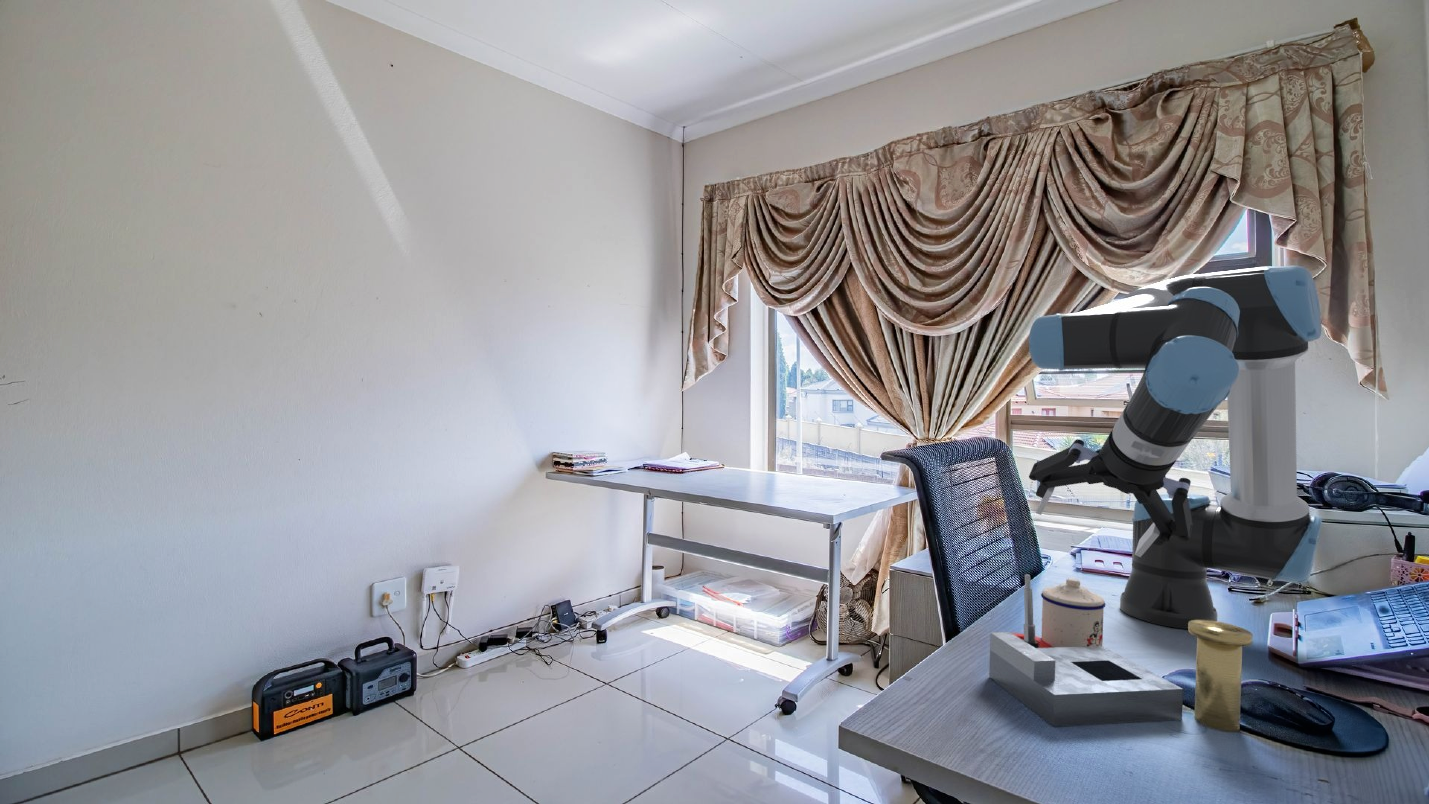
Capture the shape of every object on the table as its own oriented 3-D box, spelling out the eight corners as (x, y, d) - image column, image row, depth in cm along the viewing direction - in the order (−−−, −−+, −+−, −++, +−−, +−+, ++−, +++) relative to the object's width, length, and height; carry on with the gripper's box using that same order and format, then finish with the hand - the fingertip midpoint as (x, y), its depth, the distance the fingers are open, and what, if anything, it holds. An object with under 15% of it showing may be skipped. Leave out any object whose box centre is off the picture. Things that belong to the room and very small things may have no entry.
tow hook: (987, 639, 109) (1003, 659, 99) (985, 562, 109) (1000, 575, 100) (1040, 640, 107) (1061, 661, 98) (1037, 563, 108) (1058, 576, 99)
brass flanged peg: (1215, 708, 85) (1218, 619, 85) (1263, 734, 78) (1266, 637, 78) (1172, 711, 84) (1175, 620, 84) (1217, 737, 78) (1221, 639, 77)
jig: (1100, 672, 95) (1102, 629, 95) (1182, 720, 82) (1183, 669, 81) (989, 677, 93) (990, 632, 93) (1053, 726, 79) (1055, 674, 79)
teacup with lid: (1100, 668, 97) (1103, 591, 97) (1034, 652, 102) (1037, 580, 102) (1108, 644, 107) (1110, 574, 107) (1047, 631, 112) (1049, 565, 112)
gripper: (1029, 425, 82) (995, 509, 98) (1261, 510, 71) (1179, 589, 88) (1047, 387, 86) (1011, 474, 102) (1270, 462, 75) (1190, 546, 91)
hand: (1088, 527), depth 95 cm, fingers open, 13 cm apart
